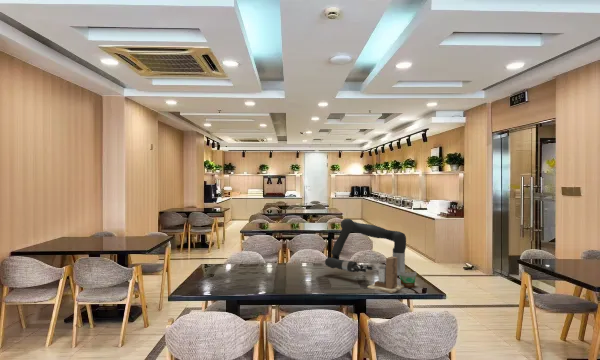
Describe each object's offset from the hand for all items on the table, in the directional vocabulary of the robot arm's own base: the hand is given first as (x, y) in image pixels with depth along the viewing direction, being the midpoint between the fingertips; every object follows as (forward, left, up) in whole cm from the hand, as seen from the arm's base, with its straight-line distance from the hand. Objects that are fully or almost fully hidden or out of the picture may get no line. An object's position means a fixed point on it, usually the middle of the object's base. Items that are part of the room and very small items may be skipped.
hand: (369, 269), depth 266 cm
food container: (-13, +24, -10) cm, 29 cm away
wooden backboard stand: (0, +13, -10) cm, 17 cm away
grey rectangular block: (0, +11, -9) cm, 14 cm away
